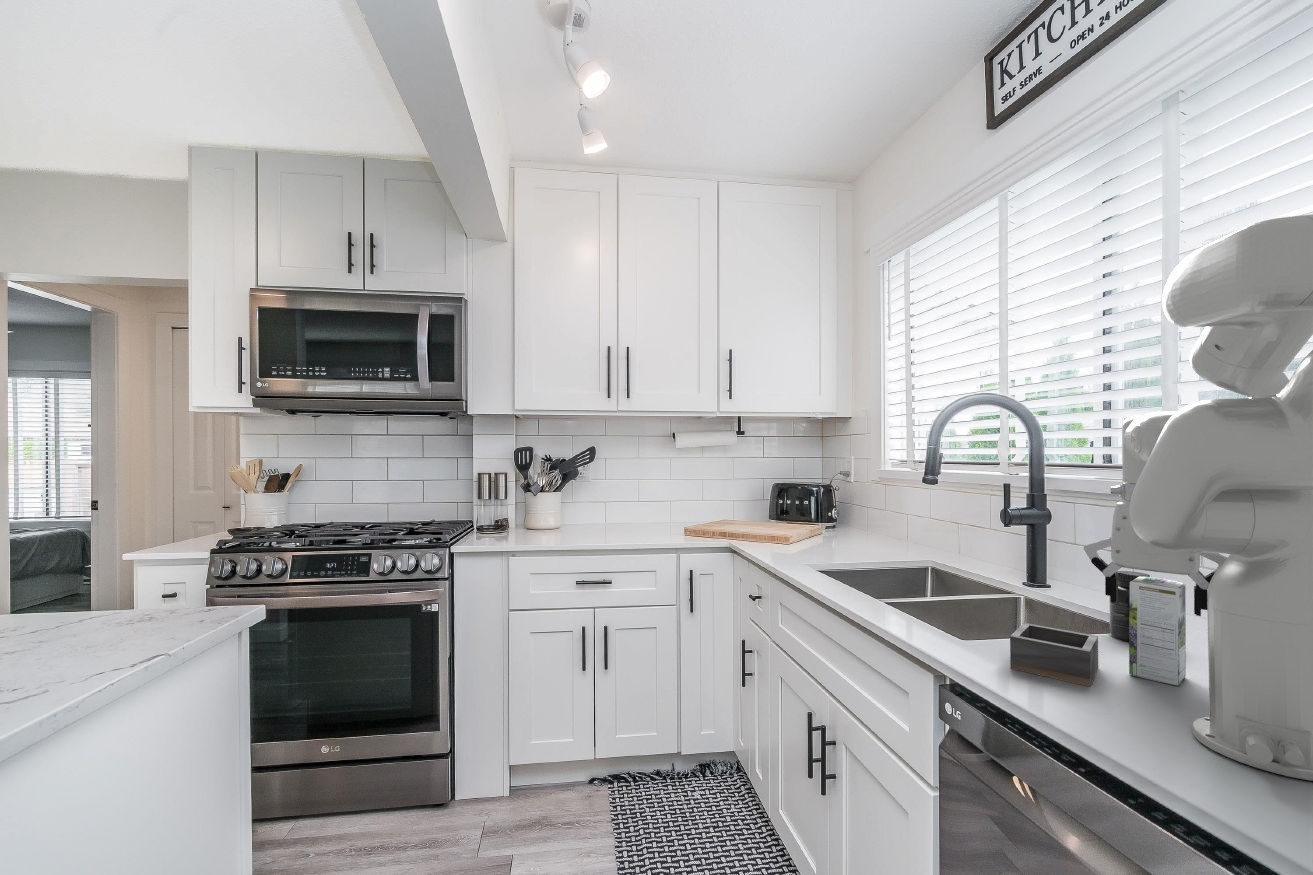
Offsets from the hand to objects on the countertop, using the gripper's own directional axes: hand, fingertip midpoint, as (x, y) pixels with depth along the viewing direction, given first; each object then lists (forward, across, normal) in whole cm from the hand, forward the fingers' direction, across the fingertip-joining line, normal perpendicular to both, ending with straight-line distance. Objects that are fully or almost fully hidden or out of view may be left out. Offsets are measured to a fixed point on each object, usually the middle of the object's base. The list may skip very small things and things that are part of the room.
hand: (1154, 607), depth 87 cm
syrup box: (+10, 0, -1) cm, 11 cm away
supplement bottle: (+11, -4, +20) cm, 23 cm away
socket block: (+10, -12, -8) cm, 17 cm away
